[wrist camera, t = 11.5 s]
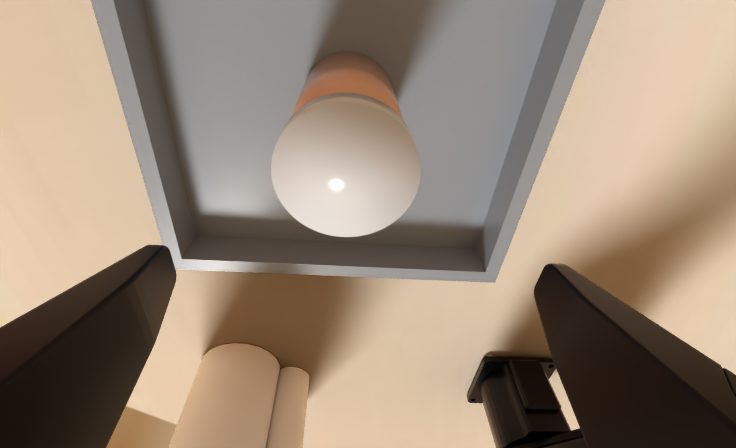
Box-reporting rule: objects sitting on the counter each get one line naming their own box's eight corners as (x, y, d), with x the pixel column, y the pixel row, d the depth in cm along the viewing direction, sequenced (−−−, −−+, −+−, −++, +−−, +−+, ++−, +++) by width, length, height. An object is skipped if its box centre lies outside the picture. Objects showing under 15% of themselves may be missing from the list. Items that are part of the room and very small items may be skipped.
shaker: (389, 147, 19) (408, 240, 13) (301, 141, 19) (275, 233, 12) (401, 53, 17) (433, 109, 10) (299, 44, 16) (265, 96, 10)
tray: (480, 251, 25) (494, 282, 22) (189, 237, 23) (169, 269, 21) (612, -138, 14) (667, -160, 11) (82, -210, 12) (16, -253, 10)
